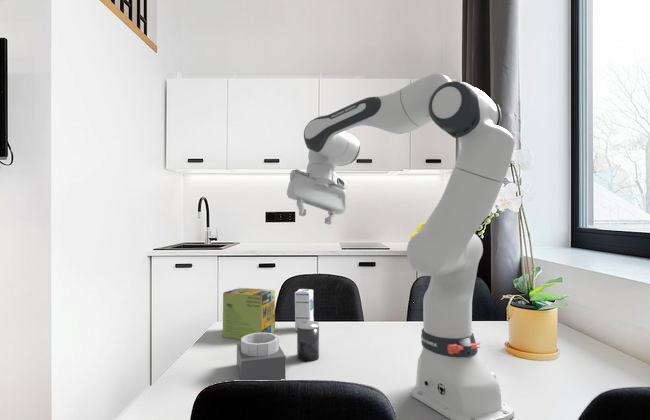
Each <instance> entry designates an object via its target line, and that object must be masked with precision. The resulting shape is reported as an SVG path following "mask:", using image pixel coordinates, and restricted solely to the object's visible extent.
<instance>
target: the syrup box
mask: <svg viewBox="0 0 650 420" xmlns="http://www.w3.org/2000/svg"><path fill="white" fill-rule="evenodd" d="M314 306H315V305H314V289H310V288H298V290H297V291H295V292H294V326H295V327H294V328H295V330H294V331H295V332H297V327H298V323H299V322H302V321H315V317H314V314H315V313H314V312H315V311H314V310H315V309H314Z"/></svg>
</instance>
